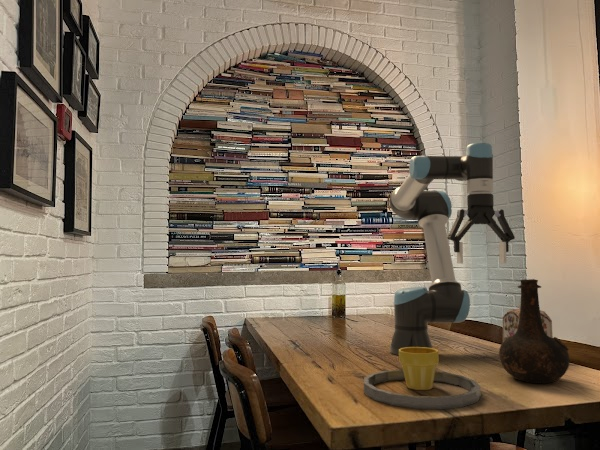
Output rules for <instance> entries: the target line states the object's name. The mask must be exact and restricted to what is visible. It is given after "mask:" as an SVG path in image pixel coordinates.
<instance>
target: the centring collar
mask: <svg viewBox="0 0 600 450" xmlns="http://www.w3.org/2000/svg"><path fill="white" fill-rule="evenodd" d="M401 380H402V381H403V380H405V376H404V372H403V369H391V370H382V371H377V372H374V373H370V374H368V375H367V376H365V377H364V378H363V394H364V395H366V396H367V397H369V398H370V399H372V400H374V401H377V402H380V403H383V404H386V405H389V406H396V407H400V408H401V407H402V408H409V409H416V410H417V409H418V410H419V409H420V410H447V409H457V407H460V408H465V407H468V406H471V405H474V404H476V402H477V403H478V401H479V400H480V398H481V397H482V396H481V393H482V392H481V385H480V384H479V383H477V381H476V380H474V379H471V378H468V377H466V376H464V375H459V374H455V373H450V372H446V371H438V370H437V371H436V370H435V375H434V381H433V382H439V383H444V382H445V383H444V384H450V385H453V384H454V386H457V385H459V386H458V387H460V386H461V387H460V388H463V389H465V388H466V389H465V390H467V389H468V391H466V392H464V393H463V392H462V393H460V394H452V395H441V396H440V395H439V396H434V395H433V396H432V395H431V396H428V395H413V394H405V393H404V394H403V393H398V392H392V391H387V390H384V389H381V388H377V387H376V386H374V385H376V384H380V383H381V384H382V383H384V382H389V381H401ZM470 390H471V391H470ZM473 403H474V404H473ZM470 404H471V405H470ZM467 405H468V406H467ZM464 406H465V407H464Z"/></svg>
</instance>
